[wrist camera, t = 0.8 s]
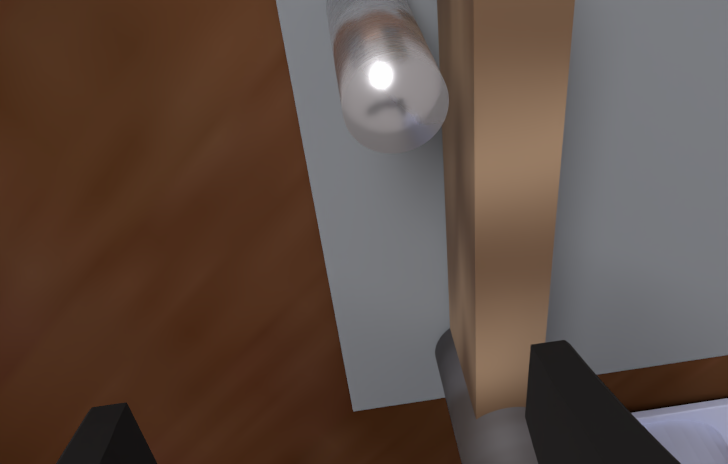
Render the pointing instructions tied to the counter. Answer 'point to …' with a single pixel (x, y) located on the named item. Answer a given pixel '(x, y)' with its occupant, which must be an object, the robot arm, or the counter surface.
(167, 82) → the counter surface
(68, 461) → the robot arm
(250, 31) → the counter surface
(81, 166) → the counter surface
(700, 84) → the mat
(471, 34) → the bar
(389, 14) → the hitch post
